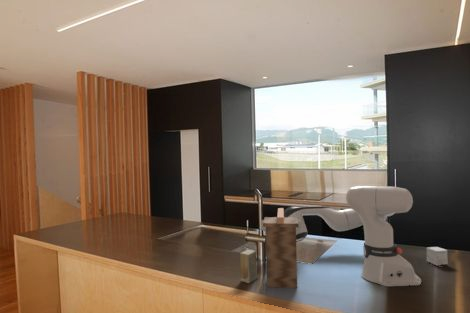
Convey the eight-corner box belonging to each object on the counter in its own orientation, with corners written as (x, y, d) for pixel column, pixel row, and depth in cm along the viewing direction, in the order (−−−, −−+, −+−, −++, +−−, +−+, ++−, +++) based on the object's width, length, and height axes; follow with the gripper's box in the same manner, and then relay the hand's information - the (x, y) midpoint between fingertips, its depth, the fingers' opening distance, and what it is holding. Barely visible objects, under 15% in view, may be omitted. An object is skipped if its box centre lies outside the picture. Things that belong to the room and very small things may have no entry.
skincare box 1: (249, 276, 137) (248, 248, 137) (257, 278, 135) (256, 250, 135) (240, 281, 132) (239, 252, 132) (248, 283, 130) (247, 254, 130)
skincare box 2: (436, 267, 143) (436, 251, 143) (426, 262, 149) (425, 247, 149) (448, 266, 144) (447, 250, 144) (437, 261, 150) (437, 246, 150)
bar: (283, 213, 144) (283, 208, 144) (283, 223, 124) (283, 217, 124) (278, 213, 145) (278, 208, 145) (277, 223, 124) (277, 217, 124)
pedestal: (298, 277, 135) (297, 217, 135) (299, 289, 123) (298, 223, 123) (266, 276, 137) (264, 217, 137) (264, 287, 125) (262, 223, 125)
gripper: (302, 235, 160) (303, 227, 148) (262, 234, 163) (260, 226, 151) (301, 223, 163) (302, 214, 151) (262, 222, 166) (260, 214, 154)
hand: (280, 220), depth 151 cm, fingers open, 8 cm apart
